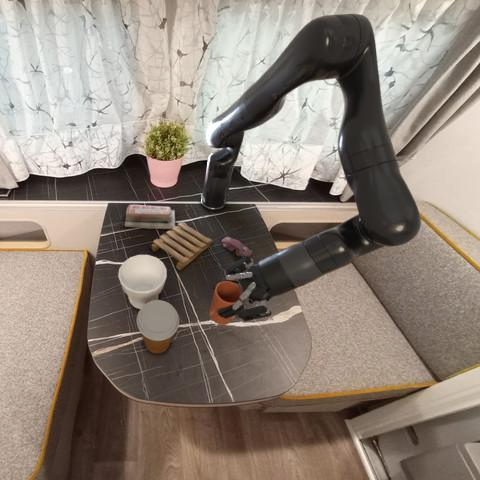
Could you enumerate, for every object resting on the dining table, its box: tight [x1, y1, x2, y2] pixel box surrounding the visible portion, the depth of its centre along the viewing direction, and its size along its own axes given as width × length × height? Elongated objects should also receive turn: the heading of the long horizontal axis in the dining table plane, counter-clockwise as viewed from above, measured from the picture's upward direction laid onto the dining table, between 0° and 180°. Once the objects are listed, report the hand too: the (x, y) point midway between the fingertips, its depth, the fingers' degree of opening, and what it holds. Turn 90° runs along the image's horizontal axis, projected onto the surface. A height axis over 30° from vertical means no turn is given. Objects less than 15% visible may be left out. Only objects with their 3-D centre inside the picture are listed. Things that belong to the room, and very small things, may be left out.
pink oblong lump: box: [221, 236, 253, 258], centre depth 88 cm, size 10×5×7 cm, turn 47°
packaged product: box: [124, 204, 176, 230], centre depth 99 cm, size 18×5×10 cm
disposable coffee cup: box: [136, 299, 180, 354], centre depth 64 cm, size 10×10×12 cm
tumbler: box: [208, 281, 243, 326], centre depth 61 cm, size 6×6×9 cm
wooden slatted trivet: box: [151, 221, 213, 271], centre depth 90 cm, size 16×13×3 cm
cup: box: [117, 254, 168, 310], centre depth 73 cm, size 12×12×11 cm
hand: (217, 301), depth 60 cm, fingers closed on tumbler, 6 cm apart
